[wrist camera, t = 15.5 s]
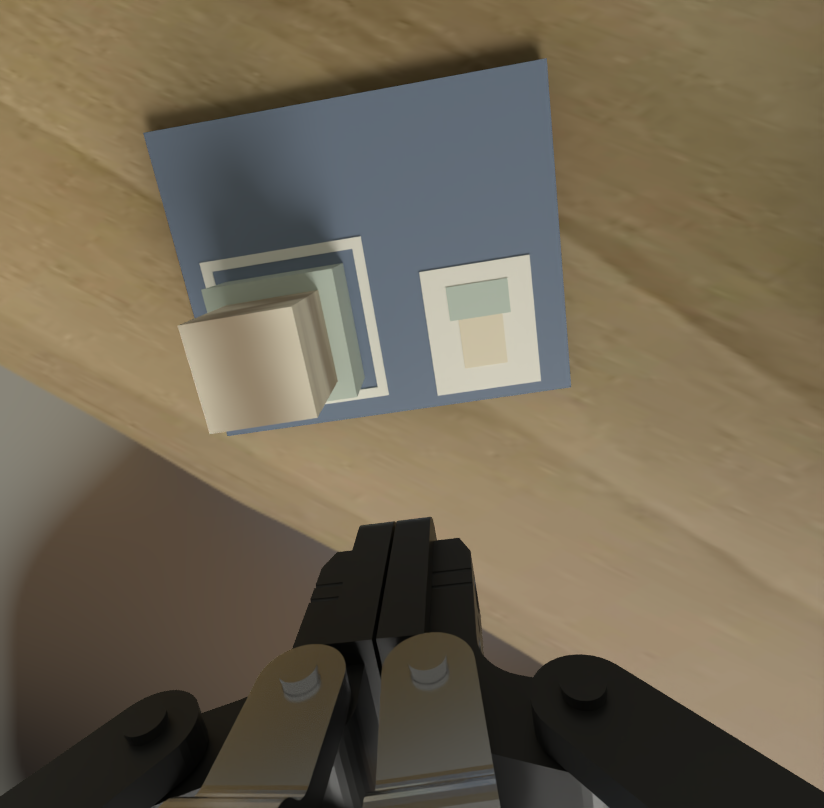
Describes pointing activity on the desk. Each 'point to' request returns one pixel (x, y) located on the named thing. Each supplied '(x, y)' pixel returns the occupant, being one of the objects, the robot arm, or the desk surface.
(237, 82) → the desk surface
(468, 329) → the build board
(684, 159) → the desk surface
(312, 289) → the base block
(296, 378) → the maple block
